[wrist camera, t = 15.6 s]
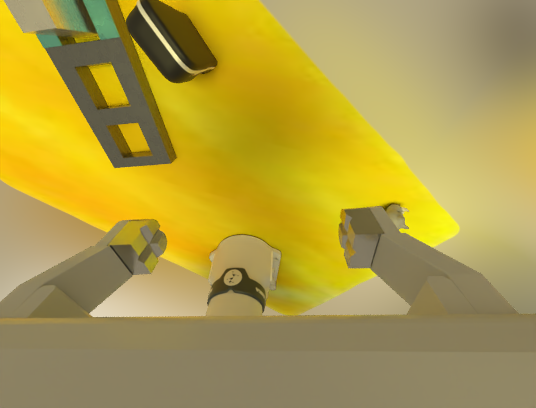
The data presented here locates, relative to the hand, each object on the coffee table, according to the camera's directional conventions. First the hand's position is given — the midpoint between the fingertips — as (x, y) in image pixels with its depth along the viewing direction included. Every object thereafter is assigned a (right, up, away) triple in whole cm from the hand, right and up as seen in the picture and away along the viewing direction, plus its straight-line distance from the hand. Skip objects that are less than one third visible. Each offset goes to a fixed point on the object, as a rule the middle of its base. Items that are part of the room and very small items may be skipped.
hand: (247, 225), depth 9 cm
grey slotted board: (-23, +19, +23) cm, 38 cm away
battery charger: (-10, +23, +20) cm, 32 cm away
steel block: (-24, +26, +18) cm, 40 cm away
